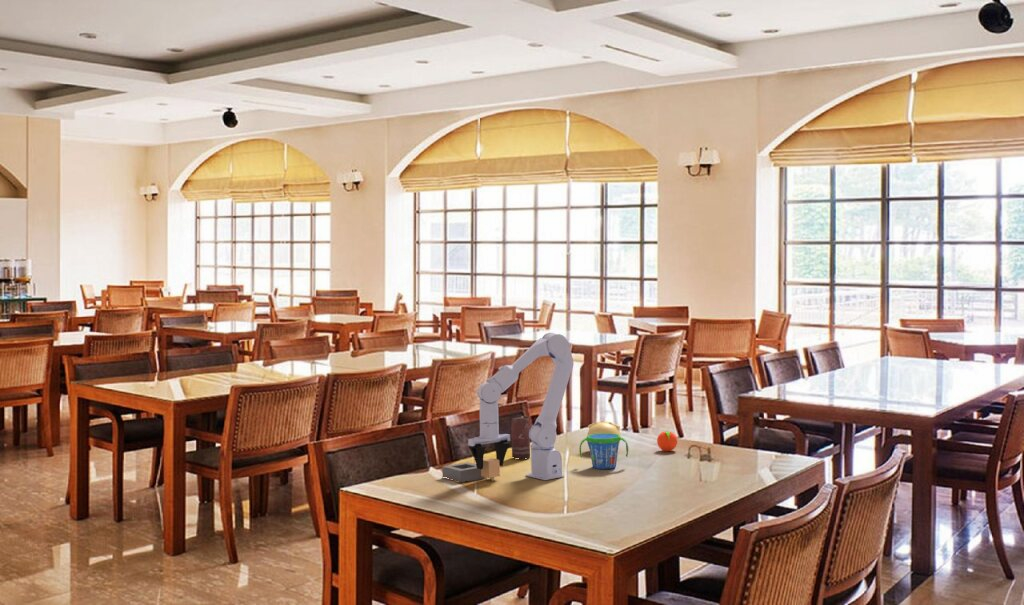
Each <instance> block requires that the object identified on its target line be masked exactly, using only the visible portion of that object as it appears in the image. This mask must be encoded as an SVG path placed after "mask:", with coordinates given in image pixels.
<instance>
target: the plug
mask: <svg viewBox="0 0 1024 605" xmlns="http://www.w3.org/2000/svg"><path fill="white" fill-rule="evenodd" d="M500 467H501V466H499V460H498V459H496V458H493V457H491V458H483V469H481V476H483V477H484V479H483V480H484V481H487V480H488V479H490V480H491V482H493V481H494V482H495V478H497V477H501V474H500V473H501V472H500V471H501V469H500ZM487 478H488V479H487Z"/></svg>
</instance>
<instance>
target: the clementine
mask: <svg viewBox="0 0 1024 605" xmlns="http://www.w3.org/2000/svg"><path fill="white" fill-rule="evenodd" d="M656 443H657V446H658V447H659V449H660V450H662V451H663V452H671V451H673V450H674V449H676V447H677V445H678V438H677V436H676V434H675V433H673V432H672V431H669V430H665V431H662V432H661V433H659V435H658V436H657V440H656Z"/></svg>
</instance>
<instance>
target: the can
mask: <svg viewBox="0 0 1024 605" xmlns="http://www.w3.org/2000/svg"><path fill="white" fill-rule="evenodd" d="M510 422H511V426H510V427H511V428H510V430H511V458H512V457H514V458H519V459H525V458H529V459H531V444H530V443H531V440H530V437H529V431H530V429H531V427H530V419H529V416H524V415H520V416H513V417H512V418H511V421H510Z"/></svg>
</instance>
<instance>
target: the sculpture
mask: <svg viewBox="0 0 1024 605" xmlns="http://www.w3.org/2000/svg"><path fill="white" fill-rule="evenodd" d="M587 427H588V431H587V435H586V437H587V436H588V435H592V434H600V433H611V434H618V435H620V436H621V433H620V428H621V426H620V425H619V424H616V423H614V422H611V421H610V422H609V421H607V420H601V421H595V422H593V423H591V424H588V425H587ZM586 442H587V441H586ZM620 443H621V440H620V441H619V445H618V448H619V447H620ZM587 446H588V447H589V445H588V442H587Z"/></svg>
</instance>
